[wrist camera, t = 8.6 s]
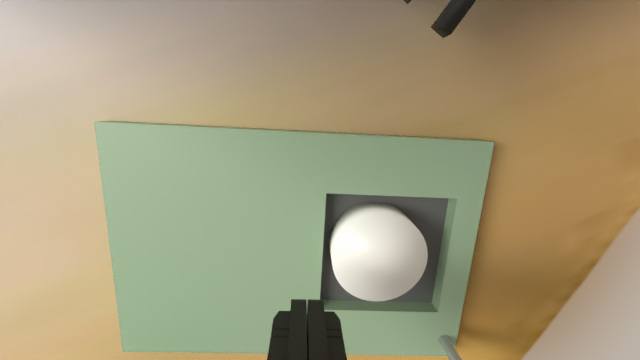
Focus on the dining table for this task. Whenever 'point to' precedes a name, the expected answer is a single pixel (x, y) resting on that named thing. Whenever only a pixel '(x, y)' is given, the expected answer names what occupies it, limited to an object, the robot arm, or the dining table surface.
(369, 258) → the white dome knob
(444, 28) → the ramen bowl
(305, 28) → the dining table surface
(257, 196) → the putting board
